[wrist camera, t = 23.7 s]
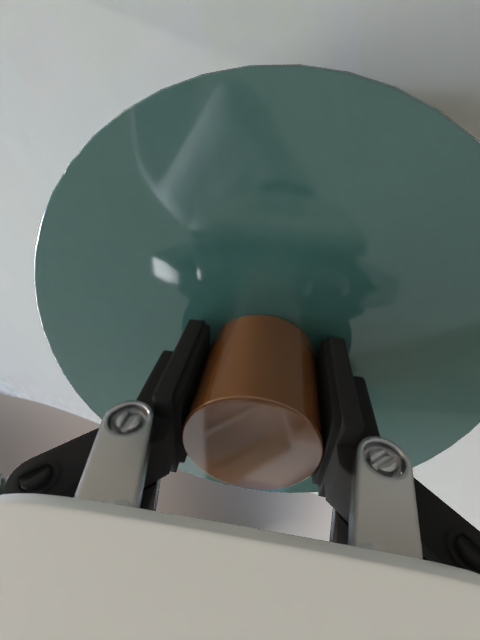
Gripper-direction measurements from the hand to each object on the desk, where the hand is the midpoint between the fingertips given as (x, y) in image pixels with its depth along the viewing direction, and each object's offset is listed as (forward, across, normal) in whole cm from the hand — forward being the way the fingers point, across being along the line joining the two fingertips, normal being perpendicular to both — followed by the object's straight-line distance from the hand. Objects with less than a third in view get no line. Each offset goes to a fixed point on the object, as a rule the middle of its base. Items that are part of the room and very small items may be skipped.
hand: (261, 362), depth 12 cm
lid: (+1, 0, 0) cm, 1 cm away
